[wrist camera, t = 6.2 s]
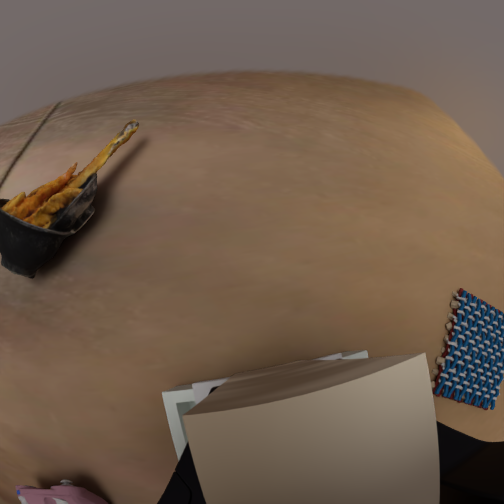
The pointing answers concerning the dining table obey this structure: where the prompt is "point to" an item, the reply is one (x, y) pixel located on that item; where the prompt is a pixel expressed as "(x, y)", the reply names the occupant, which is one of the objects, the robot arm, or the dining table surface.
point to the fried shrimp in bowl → (51, 213)
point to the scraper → (318, 433)
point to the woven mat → (478, 345)
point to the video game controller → (58, 495)
